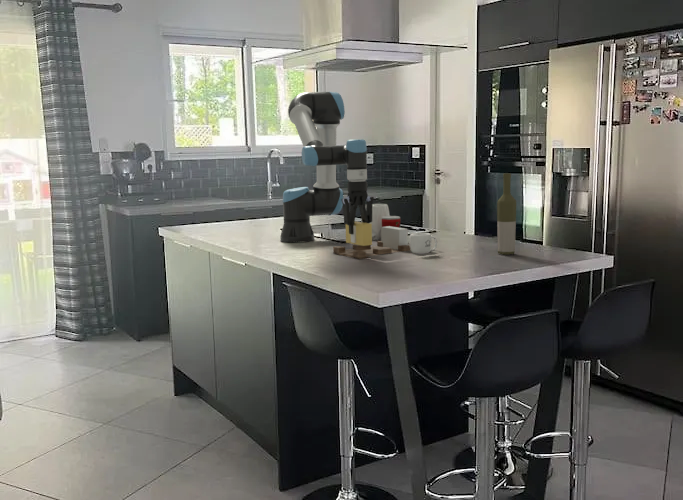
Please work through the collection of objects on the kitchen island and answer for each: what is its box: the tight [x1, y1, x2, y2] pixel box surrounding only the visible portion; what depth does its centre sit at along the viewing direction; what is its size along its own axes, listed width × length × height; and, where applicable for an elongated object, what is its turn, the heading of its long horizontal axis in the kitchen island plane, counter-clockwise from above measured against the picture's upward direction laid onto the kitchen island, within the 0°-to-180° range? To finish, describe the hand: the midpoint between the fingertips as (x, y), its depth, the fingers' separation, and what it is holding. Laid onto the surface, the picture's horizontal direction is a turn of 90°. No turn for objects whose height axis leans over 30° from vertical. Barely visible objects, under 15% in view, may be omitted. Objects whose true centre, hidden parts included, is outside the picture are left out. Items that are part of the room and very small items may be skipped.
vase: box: [360, 203, 391, 241], centre depth 305 cm, size 14×14×15 cm
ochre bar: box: [345, 220, 373, 246], centre depth 263 cm, size 12×4×8 cm, turn 32°
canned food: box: [382, 215, 402, 228], centre depth 293 cm, size 8×8×11 cm
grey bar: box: [380, 226, 409, 250], centre depth 273 cm, size 12×4×8 cm, turn 32°
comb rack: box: [332, 240, 411, 260], centre depth 268 cm, size 18×24×3 cm
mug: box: [408, 232, 438, 255], centre depth 262 cm, size 12×8×8 cm
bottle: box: [496, 172, 517, 256], centre depth 254 cm, size 7×7×30 cm
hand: (358, 241), depth 264 cm, fingers closed on ochre bar, 4 cm apart
